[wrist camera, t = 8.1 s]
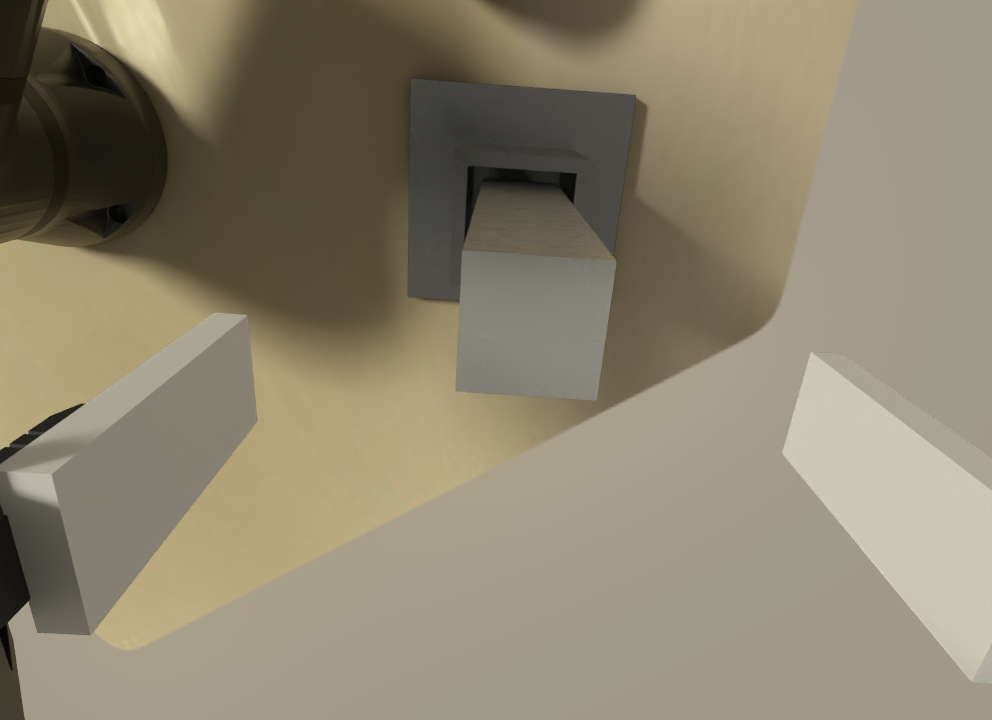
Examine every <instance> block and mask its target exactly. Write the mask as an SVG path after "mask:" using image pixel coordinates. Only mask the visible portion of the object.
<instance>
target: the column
mask: <svg viewBox="0 0 992 720" xmlns="http://www.w3.org/2000/svg"><path fill="white" fill-rule="evenodd" d="M616 264H617V261H616V259H615V258H614V257H613V256H612V254H611V253H610V252H609V250H608V249H607V248H606V247H605V245H604V244H603V243H602V241H601V240H600V239H599V238H598V236H597V235H596V234H595V232H594V231H593V230H592V229H591V227H590V226H589V225H588V223H587V222H586V221H585V220H584V218H583V217H582V216H581V214H580V213H579V212H578V211H577V209H576V208H575V207H574V205H573V204H572V203H571V202H570V200H569V199H568V198H567V196H566V195H565V194H564V193H563V191H562V190H561V189H560V187H559V186H558V185H557V184H556V183H546V182H532V181H518V180H504V179H490V178H483V182H482V185H481V188H480V192H479V195H478V199H477V202H476V205H475V209H474V212H473V215H472V219H471V222H470V226H469V229H468V232H467V236H466V239H465V243H464V246H463V249H462V264H461V285H460V306H459V328H458V349H457V370H456V391H457V392H472V393H487V394H503V395H518V396H533V397H548V398H563V399H579V400H594V401H597V396H598V389H599V382H600V375H601V368H602V361H603V354H604V347H605V340H606V334H607V327H608V320H609V313H610V306H611V299H612V292H613V285H614V278H615V271H616Z"/></svg>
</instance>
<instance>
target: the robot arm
mask: <svg viewBox="0 0 992 720" xmlns="http://www.w3.org/2000/svg"><path fill="white" fill-rule="evenodd" d="M47 3H48V0H0V244H1V243H4V242H8V241H11V240H15V239H18V240H24V241H31V242H37V243H43V244H50V245H56V246H66V247H77V246H88V245H94V244H98V243H102V242H105V241H108V240H111V239H114V238H118V237H120V236H123V235H125V234H127V233H129V232H131V231H132V230H134V229H135V228H137V227H138V226H139V225H140V224H142V223H143V222H144V221H145V220H146V219H147V218H148V216H149V215H150V214H151V213H152V211H153V210H154V208H155V207H156V205H157V203H158V201H159V199H160V197H161V194H162V191H163V188H164V184H165V179H166V172H167V153H166V145H165V140H164V135H163V131H162V128H161V125H160V122H159V119H158V117H157V114H156V112H155V110H154V108H153V106H152V104H151V102H150V100H149V99H148V97H147V95H146V94H145V92H144V91H143V89H142V88H141V86H140V85H139V84H138V82H137V81H136V80H135V79H134V77H133V76H132V75H131V74H130V73H129V72H128V71H127V70H126V69H125V68H124V67H123V66H122V65H121V64H120V63H119V62H118V61H117V60H116V59H115V58H113V57H112V56H111V55H110V54H108V53H107V52H106V51H104V50H103V49H101V48H100V47H98V46H96V45H95V44H93V43H91V42H89V41H87V40H86V39H83V38H81V37H79V36H77V35H74V34H71V33H68V32H64V31H61V30H56V29H51V28H46V27H41V26H42V22H43V18H44V14H45V10H46V7H47ZM256 422H257V411H256V400H255V389H254V378H253V367H252V356H251V345H250V334H249V323H248V315H240V314H225V313H213V314H212V315H210V316H209V317H208V318H206V319H205V320H203V321H202V322H201V323H199V324H198V325H196V326H195V327H193V328H192V329H191V330H189V331H188V332H186V333H185V334H184V335H182V336H181V337H179V338H178V339H177V340H175V341H174V342H172V343H171V344H169V345H168V346H167V347H165V348H164V349H162V350H161V351H160V352H158V353H157V354H155V355H154V356H153V357H151V358H150V359H148V360H147V361H145V362H144V363H143V364H141V365H140V366H138V367H137V368H136V369H134V370H133V371H131V372H130V373H128V374H127V375H126V376H124V377H123V378H121V379H120V380H119V381H117V382H116V383H114V384H113V385H112V386H110V387H109V388H107V389H106V390H104V391H103V392H102V393H100V394H99V395H97V396H96V397H95V398H93V399H92V400H90V401H89V402H88V403H86V404H79V405H77V406H74V407H72V408H69V409H67V410H64V411H62V412H59V413H57V414H54V415H52V416H50V417H49V418H47V419H46V420H44V421H43V422H41V423H40V424H38V425H37V426H35V427H34V428H32V429H31V430H29V433H28V434H24V435H22V436H21V437H19V438H18V439H16V440H15V441H13V442H12V443H10V446H9V447H4V448H3V449H1V450H0V720H25V719H24V712H23V705H22V698H21V692H20V684H19V677H18V670H17V664H16V656H15V649H14V643H13V638H12V635H11V632H10V629H9V625H8V622H9V621H10V620H11V619H12V617H13V616H14V615H15V614H16V613H17V612H18V611H19V610H20V609H21V608H22V607H23V606H24V605H25V604H26V603H27V602H28V601H29V605H30V608H31V612H32V615H33V619H34V622H35V625H36V629H37V632H38V633H57V634H76V635H91V634H92V633H93V632H94V630H95V629H96V628H97V627H98V625H99V624H100V623H101V621H102V620H103V619H104V618H105V616H106V615H107V614H108V612H109V611H110V610H111V609H112V607H113V606H114V605H115V603H116V602H117V601H118V600H119V598H120V597H121V596H122V595H123V593H124V592H125V591H126V589H127V588H128V587H129V586H130V584H131V583H132V582H133V580H134V579H135V578H136V577H137V575H138V574H139V573H140V571H141V570H142V569H143V568H144V566H145V565H146V564H147V562H148V561H149V560H150V559H151V557H152V556H153V555H154V553H155V552H156V551H157V550H158V548H159V547H160V546H161V544H162V543H163V542H164V541H165V539H166V538H167V537H168V535H169V534H170V533H171V532H172V530H173V529H174V528H175V526H176V525H177V524H178V523H179V521H180V520H181V519H182V517H183V516H184V515H185V514H186V512H187V511H188V510H189V508H190V507H191V506H192V505H193V503H194V502H195V501H196V499H197V498H198V497H199V496H200V494H201V493H202V492H203V490H204V489H205V488H206V487H207V485H208V484H209V483H210V481H211V480H212V479H213V478H214V476H215V475H216V474H217V472H218V471H219V470H220V469H221V467H222V466H223V465H224V464H225V462H226V461H227V460H228V458H229V457H230V456H231V455H232V453H233V452H234V451H235V449H236V448H237V447H238V446H239V444H240V443H241V442H242V440H243V439H244V438H245V437H246V435H247V434H248V433H249V431H250V430H251V429H252V428H253V426H254V425H255V424H256ZM782 454H783V455H784V456H785V458H786V459H787V460H788V461H789V462H790V464H791V465H792V466H793V467H794V468H795V470H796V471H797V472H798V473H799V474H800V476H801V477H802V478H803V479H804V481H805V482H806V483H807V484H808V485H809V487H810V488H811V489H812V490H813V491H814V492H815V494H816V495H817V496H818V497H819V499H820V500H821V501H822V502H823V503H824V505H825V506H826V507H827V508H828V509H829V511H830V512H831V513H832V514H833V515H834V517H835V518H836V519H837V520H838V521H839V523H840V524H841V525H842V526H843V527H844V529H845V530H846V531H847V532H848V533H849V535H850V536H851V537H852V538H853V540H854V541H855V542H856V543H857V544H858V546H859V547H860V548H861V549H862V550H863V552H864V553H865V554H866V555H867V556H868V557H869V559H870V560H871V561H872V562H873V564H874V565H875V566H876V567H877V568H878V570H879V571H880V572H881V573H882V574H883V576H884V577H885V578H886V579H887V581H888V582H889V583H890V584H891V585H892V587H893V588H894V589H895V590H896V591H897V592H898V594H899V595H900V596H901V597H902V599H904V601H905V602H906V603H907V605H908V606H909V607H910V608H911V609H912V611H913V612H914V613H915V614H916V615H917V617H918V618H919V619H920V620H921V621H922V623H923V624H924V625H925V626H926V628H927V629H928V630H929V631H930V632H931V633H932V635H933V636H934V637H935V638H936V640H937V641H938V642H939V643H940V644H941V645H942V647H943V648H944V649H945V650H946V652H947V653H948V654H949V655H950V656H951V658H952V659H953V660H954V661H955V662H956V664H957V665H958V666H959V667H960V668H961V670H962V671H963V672H964V673H965V674H966V676H967V677H968V678H969V679H970V681H971V682H976V683H992V458H990V457H989V456H988V455H986V454H985V453H983V452H982V451H980V450H979V449H977V448H976V447H975V446H973V445H972V444H971V443H969V442H968V441H966V440H965V439H963V438H962V437H960V436H959V435H958V434H956V433H955V432H953V431H952V430H950V429H949V428H948V427H946V426H945V425H944V424H942V423H941V422H939V421H938V420H936V419H935V418H934V417H932V416H931V415H929V414H928V413H926V412H925V411H924V410H922V409H921V408H919V407H918V406H916V405H915V404H914V403H912V402H911V401H909V400H908V399H907V398H905V397H904V396H902V395H901V394H899V393H898V392H897V391H895V390H894V389H892V388H891V387H889V386H888V385H887V384H885V383H884V382H882V381H881V380H879V379H878V378H877V377H875V376H874V375H872V374H871V373H869V372H868V371H867V370H865V369H864V368H862V367H861V366H860V365H858V364H856V363H855V362H854V361H852V360H851V359H850V358H848V357H847V356H845V355H844V354H837V353H822V352H811V353H810V357H809V360H808V364H807V367H806V371H805V374H804V378H803V381H802V385H801V388H800V392H799V396H798V399H797V402H796V406H795V409H794V413H793V417H792V420H791V424H790V427H789V431H788V435H787V438H786V442H785V445H784V449H783V452H782Z"/></svg>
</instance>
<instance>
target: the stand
mask: <svg viewBox="0 0 992 720" xmlns="http://www.w3.org/2000/svg"><path fill="white" fill-rule="evenodd" d="M635 100H636V95H628V94H614V93H601V92H587V91H574V90H560V89H547V88H533V87H520V86H506V85H493V84H479V83H466V82H452V81H439V80H425V79H412V78H411V92H410V164H409V236H408V297H413V298H428V299H443V300H457V301H460V285H461V264H462V249H463V246H464V243H465V239H466V236H467V232H468V229H469V226H470V222H471V219H472V215H473V212H474V209H475V205H476V202H477V199H478V195H479V192H480V188H481V185H482V182H483V178H490V179H504V180H518V181H532V182H546V183H556V184H557V185H558V186H559V187H560V189H561V190H562V191H563V193H564V194H565V195H566V196H567V198H568V199H569V200H570V202H571V203H572V204H573V205H574V207H575V208H576V209H577V211H578V212H579V213H580V214H581V216H582V217H583V218H584V220H585V221H586V222H587V223H588V225H589V226H590V227H591V229H592V230H593V231H594V232H595V234H596V235H597V236H598V238H599V239H600V240H601V241H602V243H603V244H604V245H605V247H606V248H607V249H608V250H609V252H610V253H611V254H612V256H614V249H615V242H616V235H617V228H618V221H619V214H620V206H621V199H622V192H623V185H624V178H625V171H626V164H627V157H628V150H629V143H630V136H631V129H632V122H633V115H634V108H635Z"/></svg>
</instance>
